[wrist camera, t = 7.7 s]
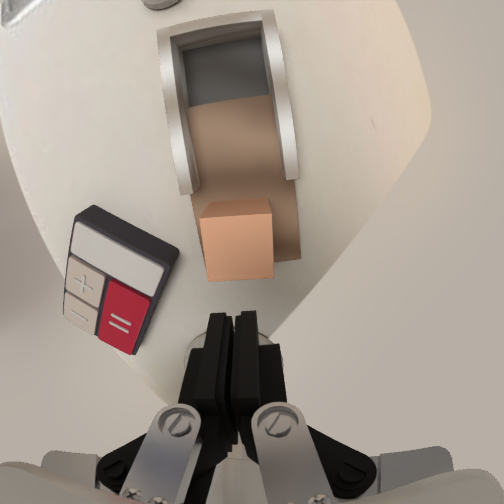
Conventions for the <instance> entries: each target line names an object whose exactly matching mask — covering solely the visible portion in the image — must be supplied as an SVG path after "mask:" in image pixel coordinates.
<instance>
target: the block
mask: <svg viewBox="0 0 504 504" xmlns="http://www.w3.org/2000/svg"><path fill="white" fill-rule="evenodd" d="M199 220H200V227H201V235H202V242H203V249H204V256H205V263H206V270H207V276H208V281H229V280H248V279H265V278H274V259H273V231H272V213H271V209H270V205H269V202H268V198H257V199H241V200H227V201H215V202H209V204H208V205H207V207H206V208H205V210H204V212H203V213H202V215H201V217H200V218H199Z"/></svg>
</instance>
